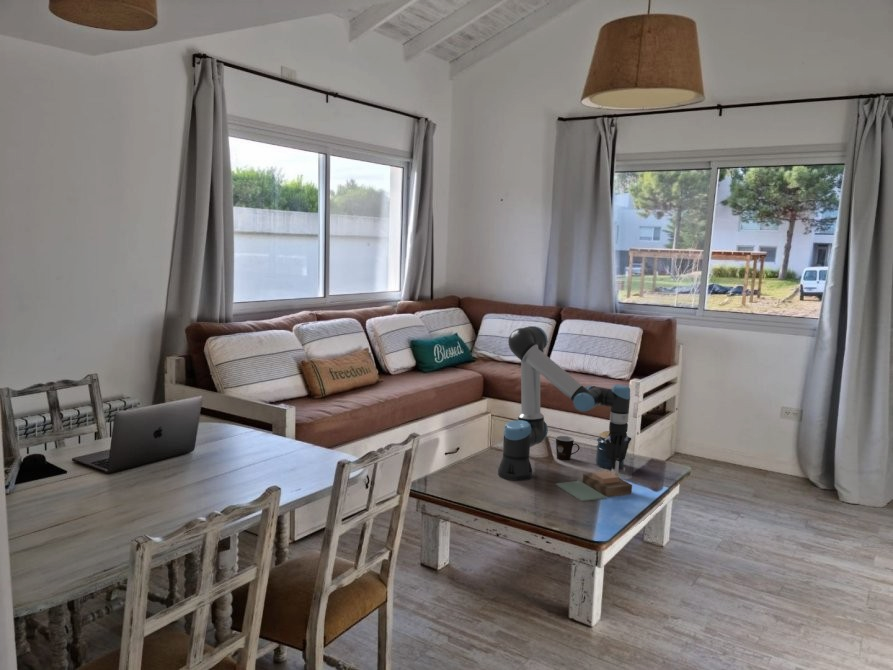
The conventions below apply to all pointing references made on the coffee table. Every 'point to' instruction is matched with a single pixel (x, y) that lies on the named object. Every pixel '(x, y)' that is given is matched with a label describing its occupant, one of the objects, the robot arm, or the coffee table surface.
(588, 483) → the block
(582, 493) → the sage mat
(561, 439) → the coffee mug
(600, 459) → the canister
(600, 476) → the terracotta tile
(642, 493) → the coffee table surface
